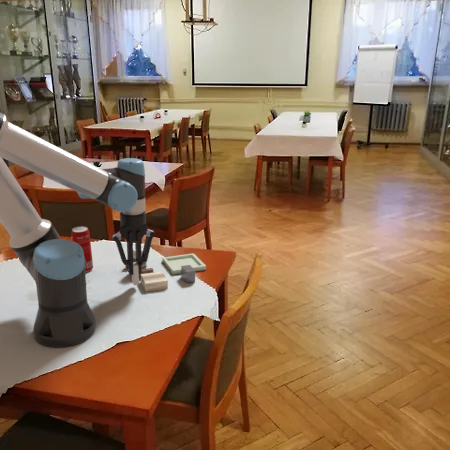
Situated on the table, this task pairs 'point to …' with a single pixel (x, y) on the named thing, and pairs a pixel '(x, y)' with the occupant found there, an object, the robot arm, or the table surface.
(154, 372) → the table surface
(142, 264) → the pill bottle
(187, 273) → the bench dog
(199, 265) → the tray
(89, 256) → the beverage can
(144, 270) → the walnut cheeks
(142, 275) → the beige grooved block
